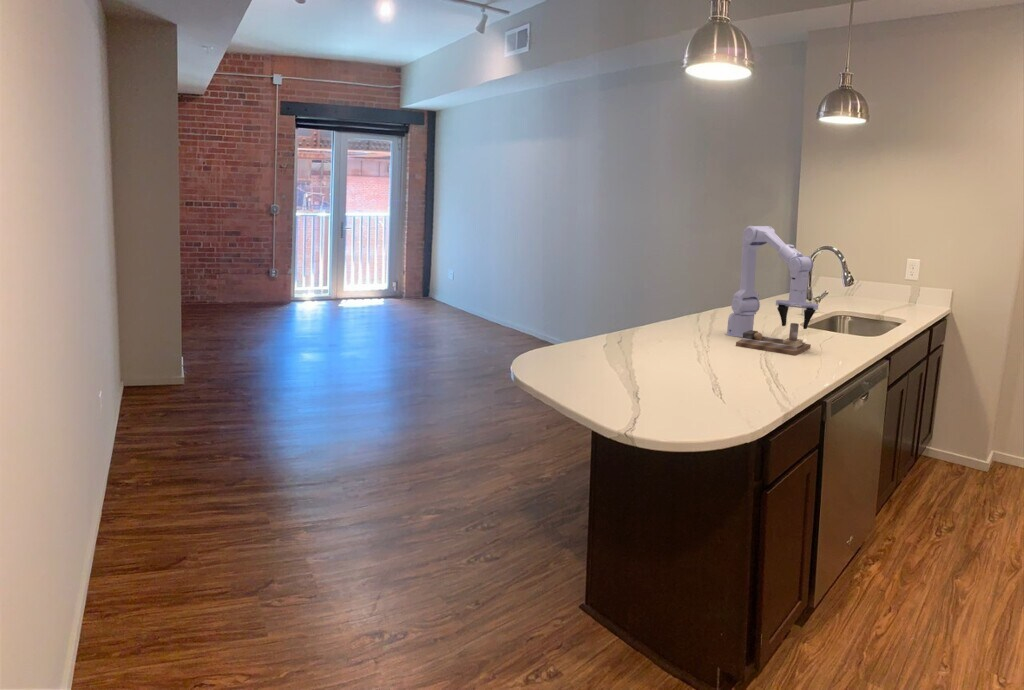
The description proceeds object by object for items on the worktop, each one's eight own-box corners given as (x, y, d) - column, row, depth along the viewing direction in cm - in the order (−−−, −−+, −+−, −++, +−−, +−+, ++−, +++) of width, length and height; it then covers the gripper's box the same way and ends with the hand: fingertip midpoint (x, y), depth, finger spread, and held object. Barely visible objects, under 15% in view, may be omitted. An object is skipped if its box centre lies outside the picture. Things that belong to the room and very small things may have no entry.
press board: (735, 345, 269) (736, 333, 268) (752, 339, 281) (753, 327, 280) (795, 355, 256) (796, 342, 255) (810, 348, 268) (811, 336, 267)
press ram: (782, 345, 263) (784, 324, 261) (788, 343, 268) (790, 321, 266) (796, 347, 260) (798, 325, 258) (802, 345, 265) (804, 323, 263)
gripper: (774, 289, 261) (770, 325, 264) (815, 293, 252) (811, 331, 255) (781, 287, 266) (777, 323, 269) (821, 291, 257) (817, 328, 260)
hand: (794, 327), depth 262 cm, fingers open, 7 cm apart
